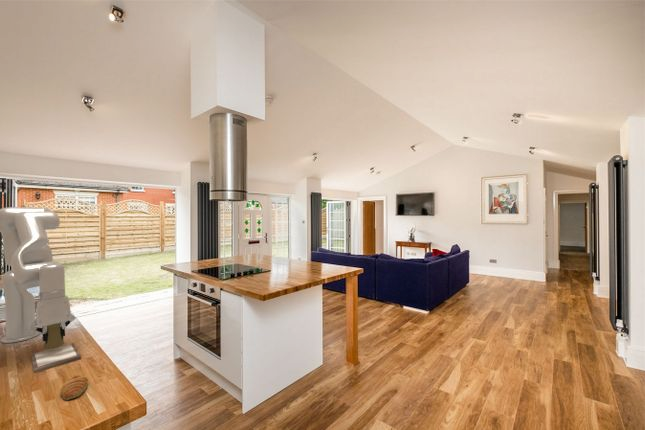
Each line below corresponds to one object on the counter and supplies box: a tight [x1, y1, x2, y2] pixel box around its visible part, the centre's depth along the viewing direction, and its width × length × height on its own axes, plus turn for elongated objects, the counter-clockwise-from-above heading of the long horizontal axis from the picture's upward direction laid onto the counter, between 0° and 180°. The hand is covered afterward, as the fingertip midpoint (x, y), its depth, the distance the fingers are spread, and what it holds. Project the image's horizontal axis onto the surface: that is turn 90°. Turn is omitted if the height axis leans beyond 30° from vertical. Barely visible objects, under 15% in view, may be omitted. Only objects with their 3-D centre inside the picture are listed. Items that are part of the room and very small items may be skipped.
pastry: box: [59, 374, 89, 401], centre depth 93 cm, size 9×7×4 cm
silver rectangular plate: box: [30, 343, 82, 374], centre depth 116 cm, size 18×13×1 cm
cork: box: [43, 323, 65, 350], centre depth 118 cm, size 6×6×11 cm
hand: (54, 340), depth 118 cm, fingers closed on cork, 3 cm apart
